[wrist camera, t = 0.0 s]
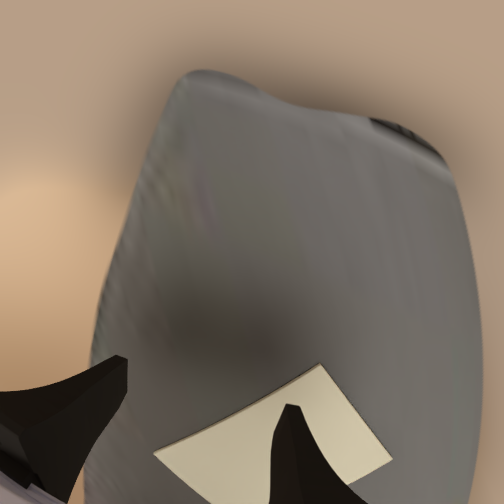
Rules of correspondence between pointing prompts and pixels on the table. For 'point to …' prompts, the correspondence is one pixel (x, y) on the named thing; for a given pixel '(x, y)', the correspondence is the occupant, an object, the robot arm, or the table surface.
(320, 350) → the table surface
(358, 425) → the mat
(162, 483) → the table surface
